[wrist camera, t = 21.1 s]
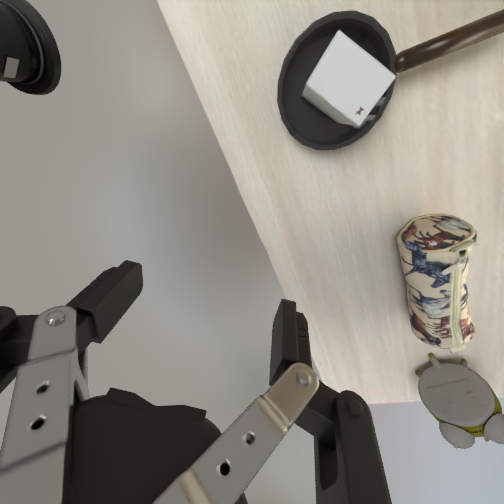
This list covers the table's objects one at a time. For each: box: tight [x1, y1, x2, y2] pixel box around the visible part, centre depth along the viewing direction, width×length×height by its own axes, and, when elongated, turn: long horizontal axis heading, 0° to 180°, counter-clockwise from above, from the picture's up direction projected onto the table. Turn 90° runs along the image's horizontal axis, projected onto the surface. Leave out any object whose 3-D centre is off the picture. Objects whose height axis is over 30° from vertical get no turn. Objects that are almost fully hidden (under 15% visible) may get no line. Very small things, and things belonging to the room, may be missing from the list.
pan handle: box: [394, 9, 504, 73], centre depth 23 cm, size 11×2×2 cm, turn 109°
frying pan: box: [277, 10, 397, 150], centre depth 28 cm, size 13×13×4 cm
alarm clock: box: [415, 354, 504, 449], centre depth 45 cm, size 12×7×15 cm, turn 130°
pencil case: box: [397, 214, 478, 354], centre depth 36 cm, size 22×8×10 cm, turn 24°
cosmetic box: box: [302, 30, 396, 126], centre depth 24 cm, size 6×4×12 cm
